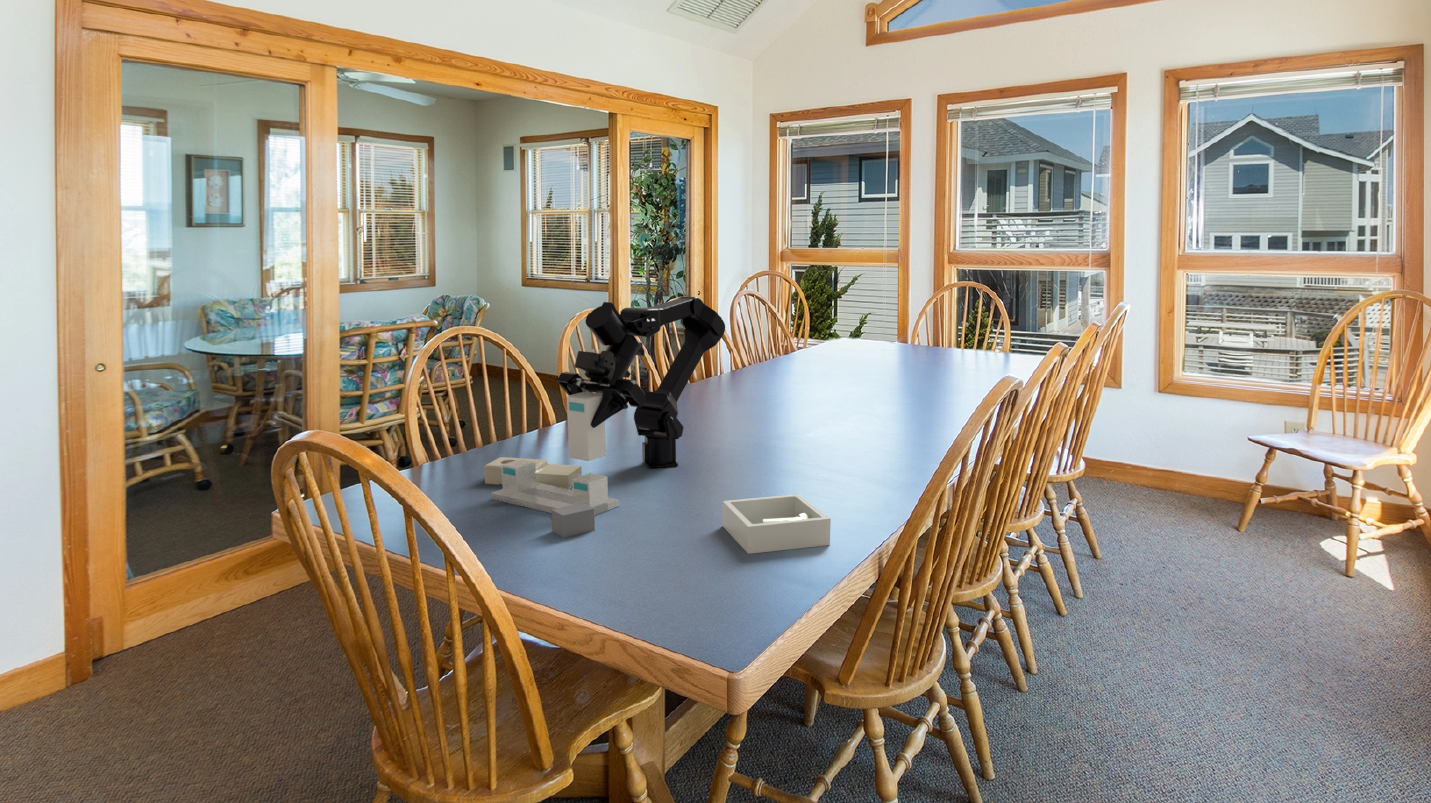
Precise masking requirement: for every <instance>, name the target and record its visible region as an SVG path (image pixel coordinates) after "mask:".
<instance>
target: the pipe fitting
mask: <svg viewBox="0 0 1431 803" xmlns="http://www.w3.org/2000/svg"><path fill="white" fill-rule="evenodd" d="M800 519H810V517H809V516H808V515H807V514H805V513H802V514H799V515H797V516H795V517H792V518H774V519H762V523H770V522H780V521H790V520H800Z"/></svg>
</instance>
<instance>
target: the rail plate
mask: <svg viewBox="0 0 1431 803" xmlns="http://www.w3.org/2000/svg"><path fill="white" fill-rule="evenodd" d="M501 468H502V485H501V486H502V489H498V490H495V491H493V492H490V497H491V498H490V500H493V499H495V500H494V501H498V500H499V501H498V502H502V501H503V502H502V503H506V502H508V503H507V504H510V503H511V504H510V505H515V506H519V507H523V506H525V507H524V508H527V507H528V509H532V510H536V511H541V512H545V513H549V514H552V513H551V510H552V509H556V508H561V507H566V506H570V505H575V504H579V503H584V504H586V505H588V506H590V507H592V508H594V516H598V515H601V514H604V513H605V512H608V511H610V510H613V509H615V508H618V507H619V506H620V500H619V499H617V498H613V497H612V498H611V497H609V491H608V490H609V486H608V475H602V474H597V473H592V472H590V473H587V474H584V475H583V474H582V476H581V477H578V478H575V479H572V487H571V488H572V489H571V488H570V489H566V488H561V487H557V486H552V485H547V484H543V483H538V482H536V464H535V462H532V461H527V460H522V459H519V460H516V461H513V462H509V463H506V464H502V465H501Z"/></svg>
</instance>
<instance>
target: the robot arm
mask: <svg viewBox="0 0 1431 803" xmlns="http://www.w3.org/2000/svg"><path fill="white" fill-rule="evenodd" d="M679 320H680V324H681V325H682V327H683V328H684V329H683V336H684V337H683V338H684V342H683V343H682V346H681V347H680V349H679V351H678V353H677V354H676V356H675V358H674V359H673V361H672V364H671V365H670V367H669V369H668V371H667V372H666V374H665V375H664V377H663V379H662V380H661V382H660V384H659V385H658V388H657V389H656V390H654V391H648V390H646V391H644V389H642V388H641V386H640V385H639V384H638V382H637V381H636V380H635V379H629V377H631V374H632V373H631V372H630V370H629V369H630V367H631V365H632V363H633V362H634V359H635V357H636V356H640V357H644V356H646V355H645V353H646V352H645V349H644V347H643V346H644V345H643V344H644V343H643V342H640V341H639V340H638V339H637V338H638V337H639V338H651V337H652V336H654V335H656V334H657V333H659V332H660V330H661V328H662V327H663V326H666V325H668V324H671V323H675V322H677V321H679ZM585 325H586V326H587V328H588V329H589V330H590V332H591V333H592V334H593V335H594V337H595V338H596V339H597V341H598V343H600V345H603V346H604V347H605V346H607V348H606V349H605V350H602V351H600V353H597V352H592V351H582V350H578V351H577V355H576V359H575V363H574V368H576V369H580V370H583V371H585V372H584V376H585V377H586V378H587V379H589V380H585V379H584V378H583V377H582V376H581V375H580V374H579V372H578V373H577V372H569V371H563V372H561V373H560V374H559V376H558V378H557V380H556V383H557V385H559V387H560V388H561V389H562V390H563V391H564V392H565V393H566V394H567V396H569V395H573V394H577V393H581V392H590V393H598V394H602V401H601V403H600V405H599V407H598V409H597V411H596V413H595V415H594V417H593V419H592V422H591V426H592V427H593V428H595V427H597V426H598V425H599V424H601V423H602V422H604V421H607V420H608V419H609V418H611V417H612V416H614V415H616V414H617V413H619V412H621V411H623V410H627V409H628V408H629V406H630V407H634V408H635V411H634V413H633V420H634V424H635V426H636V432H637V435H638V436H640V437H641V436H643V437H644V441H643V442H642V443H641V446H642V447H641V448H642V449H641V450H642V451H641V453H642V456H641V457H642V461H643V463H644V464H645V465H646V466H647V467H648V468H649V469H654V468H666V467H677V466H679V462H678V461H677V440H679V439H680V438H681V437H683V432H684V425H683V424H682V423H681V421H680V420H679V419H678V415H679V410H678V400H679V398H680V396H681V395H682V393H683V391H684V389H685V388H686V385H687V384H688V383H689V380H690V379H691V377H692V375H693V373H694V371H696V370H695V369H696V368H697V366H698V364H699V362H700V360H701V359H702V357H703V355H704V354H705V353H706V352H707V351H708V350H711V349H712V348H714V347H716V346H717V344H718V343H719V341H720V340H722V338H723V336H724V334H725V331H726V323H725V321H724V320H723V319H722V316H720V315H719V313H718V312H717V311H715V309H712V308H711V307H710V306H708V305H706V304H705V303H704V302H703V300H702V299H701V298H699V297H697V296H685V295H683V296H680V297H678V298H676V299H672V300H670V301H666V302H663V303H660V304H657V305H654V306H653V305H652V306H650V307H624V308H622V309H621V311H620V313H619V311H618V310H617V308H616V306H615V305H614V304H613V302H611V301H610V302H609V301H603V303H602V304H601V306H600V305H599V306H598V307H596V308H594V309H593V310H592V311H590V312H588V313H587V315H586V318H585ZM636 337H637V338H636ZM626 378H627V379H626ZM628 404H629V405H628Z"/></svg>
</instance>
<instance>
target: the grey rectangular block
mask: <svg viewBox="0 0 1431 803" xmlns="http://www.w3.org/2000/svg"><path fill="white" fill-rule="evenodd" d="M550 514H551V532H552V533H554V534H557V535H558V536H560V537H561V538H568V537H572V536H577V535H581V534H584V533H589V532H593V531H596V525H595V524H596V523H595V518H596V517H595V516H596V515H595V516H594V508H592V507H590V506H588V505H586V504H584V503H579V504H575V505H570V506H566V507H561V508H556V509H552V510H551V513H550Z"/></svg>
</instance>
